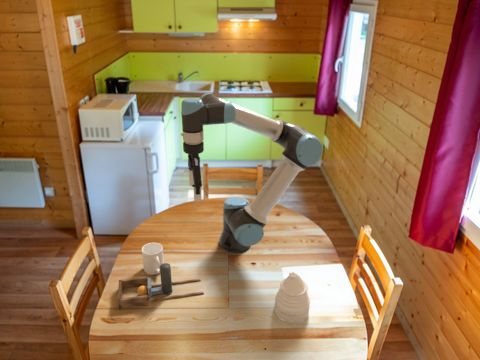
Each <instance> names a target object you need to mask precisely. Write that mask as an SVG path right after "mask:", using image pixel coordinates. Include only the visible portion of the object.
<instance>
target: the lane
mask: <svg viewBox="0 0 480 360" xmlns="http://www.w3.org/2000/svg"><path fill="white" fill-rule="evenodd" d="M195 282H201V278H194V279H187V280H179V281H172V286H173V285H174V286H175V285H179V284H180V285H182V284H187V283H195ZM157 287H162V286H161V283H158V284H157V283H156V284H151V288H157ZM199 295H204V291H196V292H189V293H183V294H175V295H169V296H163V297H162V296H161V297H156V298H149V303H151V302H158V301H165V300H171V299H178V298H179V299H180V298H185V297H186V298H187V297H192V296H199Z"/></svg>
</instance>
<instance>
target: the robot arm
mask: <svg viewBox="0 0 480 360" xmlns="http://www.w3.org/2000/svg"><path fill="white" fill-rule="evenodd" d="M180 108H181V110H180V115H181V123H182V124H181V129H182V133H180V136H181V137H182V141H183V142H182V149H183V152H184V154H187V166H188V182H189V187H191V188H193V200H194V202H195V203H196V202H202V201H203V199H202V198H203V197H202V186H203V184H202V174H201V173H202V171H201V157H200V156H199V154H202V153H203V152H204V149H205V147H204V143H205V142H204V138H205V137H204V126H210V125H223V124H224V125H226V124H230V123H231V124H233V125H237V126H239V127H242V128H244V129H246V130H249V131H251V132H253V133H256V134H259V135H262V136H265V137H267V138H268V139H269V140H270V142H274V143H276V144H278V145H279V146H280V147H282V148H283V149H284V150H283V151H282V153H281V158H282V159H281V161H280V162H279V164H278V165H277V166H276V168H275V169H274V170H273V172H272V174H271V175H270V176H269V178H268V179H267V181H266V182H265V183H264V185H263V187H262V188H261V189H260V190H259V192H258V193H257V195H256V196H255V197H254V199H253V201H251V203H250V201H249V200H248V199H247V198H245V197H240V196H238V197H237V196H235V197H229V198H227V199H225V200H224V201H223V205H222V218H223V220H222V221H223V222H222V223H223V224H222V226H223V227H222V231H221V233H220V237H219V246H220V248H221V249H223V250H224V251H226V252H229V253H241V252H245V251H247V250H249V249H250V248H251V246H255V245H257V244H259V243H260V242H262V240H263V238H264V235H265V234H264V233H265V230H264V228H265V226H266V225H267V224H268V218H267V217H268V216H269V214H270V213H271V212H272V210H273V209H274V207H276V205H277V203H278V202H279V201H280V200H281V197H282V196H283V195H284V193H285V192H286V191H287V189H288V188H289V186H291V184H292V182H293V181H294V179H295V178H296V177H297V176H298V174H299V173H300V172H302V171H305V170H306V169H307V168H308V167H311V166H312V165H315V164H317V163H318V162H319V161H320V159H322V158H321V157H322V155H323V150H324V149H323V144H322V142H321V140H320V139H319V138H318V137H317V136H316V135H315V134H312V133H311V132H310V131H308V130H306V129H305V128H304V127H302V126H299V125H297V124H294V123H290V122H287V121H284V120H281V119H277V120H275V119H272V118H271V117H267V116H265V115H262V114H260V113H258V112H256V111H252V110H250V109H248V108H245V107H242V106H241V105H238V104H236V103H233V102H230V101H228V100H225V99H223V98H220V97H218V96H216V95H215V94H213V93H210V92H205V93H203V94H202V95H201V96H200V97H199V98H198V97H194V98H193V97H187V98H184V99H183V100H181V107H180Z"/></svg>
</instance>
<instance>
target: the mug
mask: <svg viewBox="0 0 480 360" xmlns="http://www.w3.org/2000/svg"><path fill="white" fill-rule="evenodd" d="M163 248H164V247H163V245H162V244H161V243H159V242H149V243H146V244H144V245H143V246H141V257H142V265H143V271H144V273H145V274H147V275H151V276H152V275H153V276H154V275H158V274H160V265H161V264H163V263H165V260H164V249H163Z"/></svg>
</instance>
